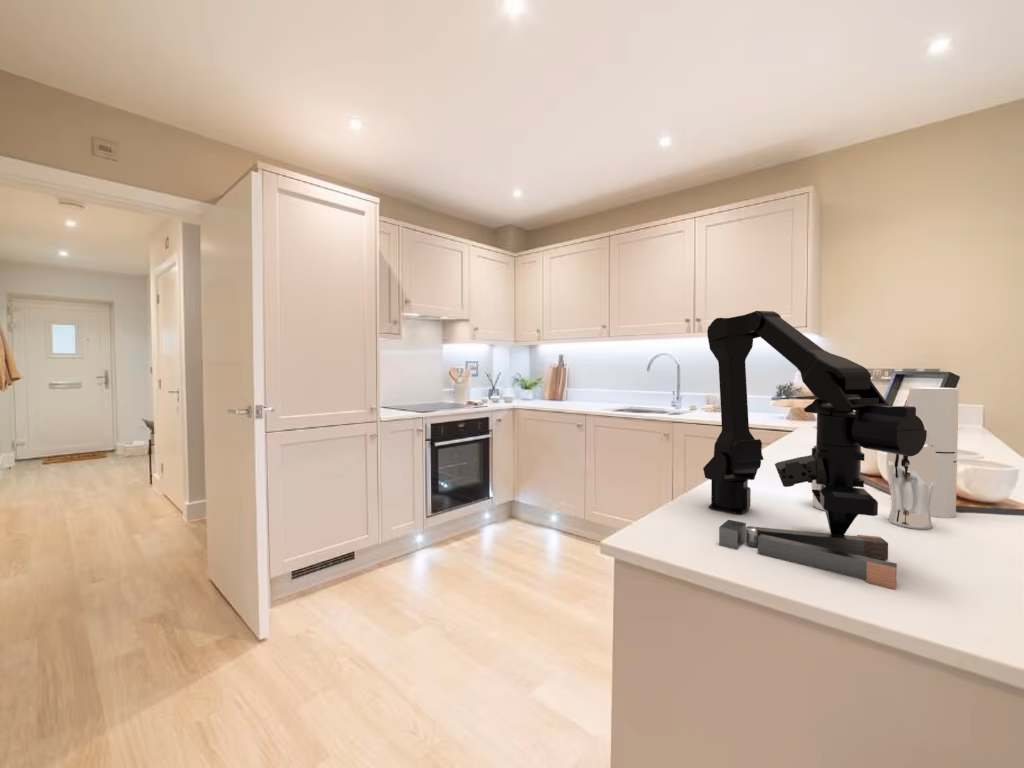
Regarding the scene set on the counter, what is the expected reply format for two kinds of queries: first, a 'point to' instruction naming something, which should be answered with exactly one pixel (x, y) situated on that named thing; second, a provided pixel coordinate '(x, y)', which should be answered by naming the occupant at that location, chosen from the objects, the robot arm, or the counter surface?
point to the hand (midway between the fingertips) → (836, 539)
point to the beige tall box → (940, 442)
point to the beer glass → (912, 487)
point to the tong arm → (826, 541)
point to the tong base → (813, 555)
